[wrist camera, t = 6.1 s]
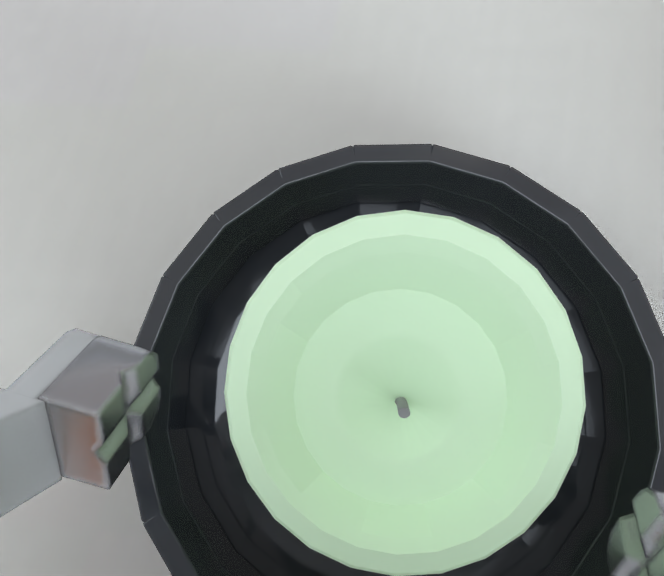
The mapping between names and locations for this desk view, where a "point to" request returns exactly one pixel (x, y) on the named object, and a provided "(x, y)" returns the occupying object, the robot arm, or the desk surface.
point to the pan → (331, 209)
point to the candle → (405, 393)
